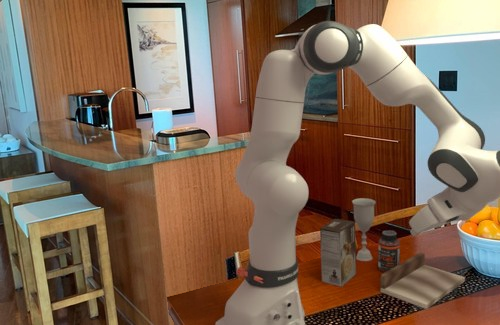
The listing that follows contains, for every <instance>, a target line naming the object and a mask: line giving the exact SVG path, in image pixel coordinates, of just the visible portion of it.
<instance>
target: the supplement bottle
mask: <svg viewBox="0 0 500 325" xmlns="http://www.w3.org/2000/svg"><path fill="white" fill-rule="evenodd" d="M397 234H398V233H397V232H396V231H395V230H383V231H382V233H381V238H379V240H378V246H377V249H378V251H377V257H378V258H377V261H378V262H377V267H378V270H380V272H382V273H385V272H387V271H389V270H390V269H392V268H394V267H396V266H397V265H399V264H400V259H401V258H400V257H401V256H400V252H401V250H400V249H401V242H400V239H398V238H397Z"/></svg>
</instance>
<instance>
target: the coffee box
mask: <svg viewBox="0 0 500 325" xmlns="http://www.w3.org/2000/svg"><path fill="white" fill-rule="evenodd" d="M319 232H320V233H319V234H320V259H321V260H320V263H321V264H320V265H321V266H320V267H321V281H322V283H326V284H329V285H334V286H338V287H343V286H344V285H345V284H347V283H348V282H349V281H350V280H351V279H352V278H354V276H356V274H357V265H356V264H357V259H356V256H357V254H356V222H355V221H354V220H353V221H352V220H346V219H340V218H334V219H332V220H331V221H329V222H327V223H326V224H325V225H323V226H322V227H320V229H319Z"/></svg>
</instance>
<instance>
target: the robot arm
mask: <svg viewBox="0 0 500 325" xmlns="http://www.w3.org/2000/svg"><path fill="white" fill-rule="evenodd" d="M346 68H348V69H350V70H351V71H353V72H354V73H355V74H356V75H358V76H359V78H360V80H361V81H362V83H363V84H364V85H365V87H366V88H367V89H368V91H369V92H370V94H372V96H373V97H374V98H375V99H376V100H377V101H379V103H381V104H382V105H384V106H387V107H401V106H405V105H409V104H410V105H413V106H415V107H416V108H418V109H419V110H420V111H421V112H422V113H423V115H424V116H425V117H426V118H427V119H428V120H429V121H430V123H432V124H433V125H434V126H435V127H436V128H435V129H437V134H438V139H437V141H436V143H435V145H434V147H433V149H432V150H431V152H430V155H428V156H429V157H428V159H427V168H428V171H429V173H430V174H431V175H432V176H433V178H435V180H437V181H439V182H440V183H442V184H443V185H445V186H447V187H446V188H444V189H443V190H442V191H441V192H439V193H437V194H436V195H433V196H431V197H430V198H428V200H427V201H426V203H427V204H426V205H424V206H423V207H422V208H420V209H419V210H418V211H417V213H415V214H414V215H413V216H412V217H411V218H410V219H409V221H408V223H409V227H410V228H411V229H410V234H411V235H412V236H413V237H416V236H419V235H420V234H422V233H425V232H428V231H430V230H433V229H438V228H441V227H443V226H444V225H447V224H449V223H451V222H455V221H456V222H459V221H462V222H463V221H464V222H465V221H469V220H470V219H471V218H473V217H475V215H477V214H479V213H480V212H481V211H483V210H484V209H485V207H486V206H487V205H488V204H489V203H492V202H495V201H496V200H498V199H499V198H500V150H488V149H487V150H486V149H484V147H485V144H486V143H485V142H486V135H485V133H484V131H483V129H482V128H481V127H480V126H479V125H478V124H477V123H476V122H474V121H472V120H471V119H469V118H468V117H466V116H465V115H464V114H462V113H461V112H460V111H459V109H458V108H456V106H455V105H454V104H453V103H452V102H451V101H450V100H449V98H448V97H447V96H446V95H445V94H444V93H443V91H442V90H441V89H440V88H439V87H438V86H437V85H436V84H435V83H434V81H432V79H430V78H429V77H428V76H427V75H425V74H424V73H423V72H422V71H421V70H420V69H419V68H418V67H417V65H416V64H415V63H414V62H413V60H412V59H411V57H410V56H409V55H408V54H407V52H406V51H405V50H404V48H403V47H402V46H401V45H400V44H399V43H398V41H397V40H396V39H395V38H394V37H393V36H392V35H391V34H390V33H389V32H387V30H385V29H384V28H383V27H382V26H380V25H378V24H376V23H375V24H374V23H372V24H371V23H369V24H366V25H365V24H364V25H363V26H361V27H358V29H355V28H352V27H350V26H348V25H345V24H343V23H341V22H338V21H333V20H325V21H320V22H318V23H317V24H314V25H312V26H310V27H308V28H307V29H306V30H305V32H304V33H303V34H302V35H301V36H300V38H299V39H297V41H296V42H295V45H294V46H293V47H292V48H291V49H278V50H274V51H271V52H270V53H268V54H267V55H266V56H265V58H264V60H263V62H262V66H261V69H260V72H259V76H258V80H257V86H256V91H255V99H254V108H253V114H252V121H251V122H252V123H251V129H250V132H249V133H250V134H249V137H248V141H247V145H246V147H245V150H244V153H243V156H242V158H241V160H240V161H239V163H238V164H237V166H236V168H235V172H234V178H235V182H236V184H237V186H238V188H239V190H240V191H241V193H242V194H243V195H244V196H246V197H247V198H249V200H250V201H252V203H253V206H254V214H253V219H252V225H251V226H250V228H249V229H248V235H247V236H248V249H249V252H248V253H249V260H248V264H247V267H246V269H245V268H243V267H242V266H239V267H238V268H237V269H236V272H235V273H236V275H238V276H240V277H241V278H244V280H243V281H242V282H241V284H240V285H239V286H238V288H236V290H235V291H234V292H233V294H232V295H231V296H230V297H229V298H228V300H227V301H226V303H225V307H224V316H222V317H221V318H219V319H218V320H217V321H215V324H214V325H306V321H305V316H306V315H305V314H306V312H305V310H304V307H303V303H302V301H301V294H300V289H299V283H298V277H299V265H298V264H299V263H298V259H297V257H296V256H297V254H296V250H297V249H296V228H297V223H298V222H297V221H298V218H299V213H300V212H301V211H302V210H303V209H304V207H305V206H306V204H307V202H308V201H309V194H310V193H309V186H308V184H307V182H306V180H305V179H304V177H303V176H302V175H301V174H300V173H299V172H298V171H296V169H294V168H293V167H291V166H288V165H287V161H288V160H287V159H288V157H289V154H290V152H291V149H292V147H293V145H294V144H295V143H296V142H297V141H298V139H300V138H299V137H300V135H301V128H302V120H303V112H304V105H305V98H306V96H305V95H306V89H307V86H308V83H309V81H310V79H311V78H312V77H313V76H316V75H320V76H321V75H322V76H323V75H325V76H326V75H329V74H333V73H336V72H339V71H342V70H344V69H346Z"/></svg>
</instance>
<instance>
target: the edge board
mask: <svg viewBox="0 0 500 325" xmlns="http://www.w3.org/2000/svg"><path fill="white" fill-rule="evenodd" d="M425 256H426V255H425V252H423V251H420V252H418V253H417V254H415V255H413V256H411V257H410V258H407V259H406V260H405V261H402V262H401V263H399V265H397V266H396V267H394V268H392V269H390V270H389V271H387V272H382V273H381V274H380V293H383V294H386V295H387V296H390V297H393V298H396V299H398V300H401V301H404V302H406V303H409V304H411V305H413V306H416V307H420V308H421V309H425V310H427V309H429V308H430V307H432V306H433V305H434V304H436V302H438V301H440V300H441V299H442V298H444V297H445V296H446V295H448V294H449V293H450V292H452V291H453V290H455V289H457V287H460V286H461V285H462V284H463V283H464V282H466V277H465V276H462V275H458V274H456V273H452V272H449V271H445V270H442V269H439V268H436V267H433V266H430V265H426V264H425V258H426V257H425Z"/></svg>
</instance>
